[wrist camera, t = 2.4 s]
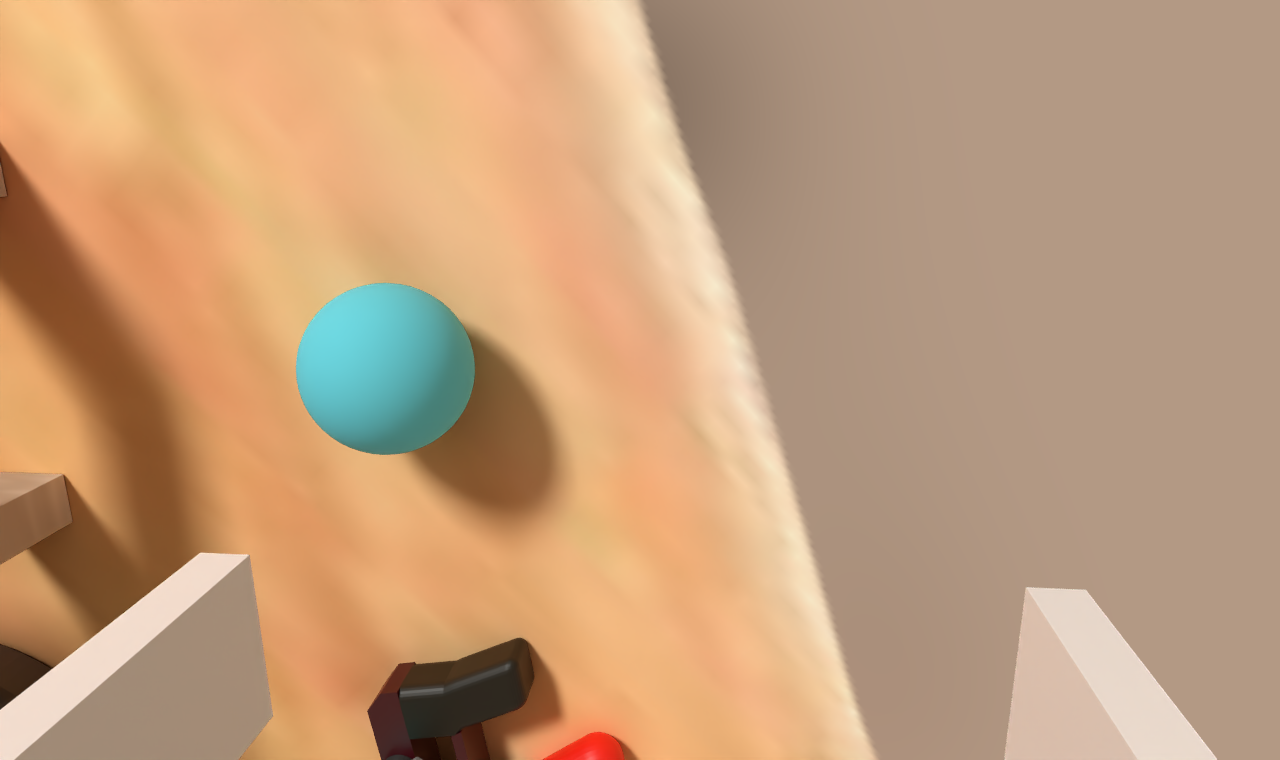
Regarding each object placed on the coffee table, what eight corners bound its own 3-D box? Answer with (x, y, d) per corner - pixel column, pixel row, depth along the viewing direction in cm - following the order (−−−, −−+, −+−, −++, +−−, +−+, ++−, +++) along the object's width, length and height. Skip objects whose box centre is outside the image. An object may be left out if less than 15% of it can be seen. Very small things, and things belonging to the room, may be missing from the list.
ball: (498, 424, 31) (450, 484, 26) (350, 420, 31) (273, 478, 26) (490, 271, 29) (437, 301, 24) (334, 270, 30) (250, 299, 25)
